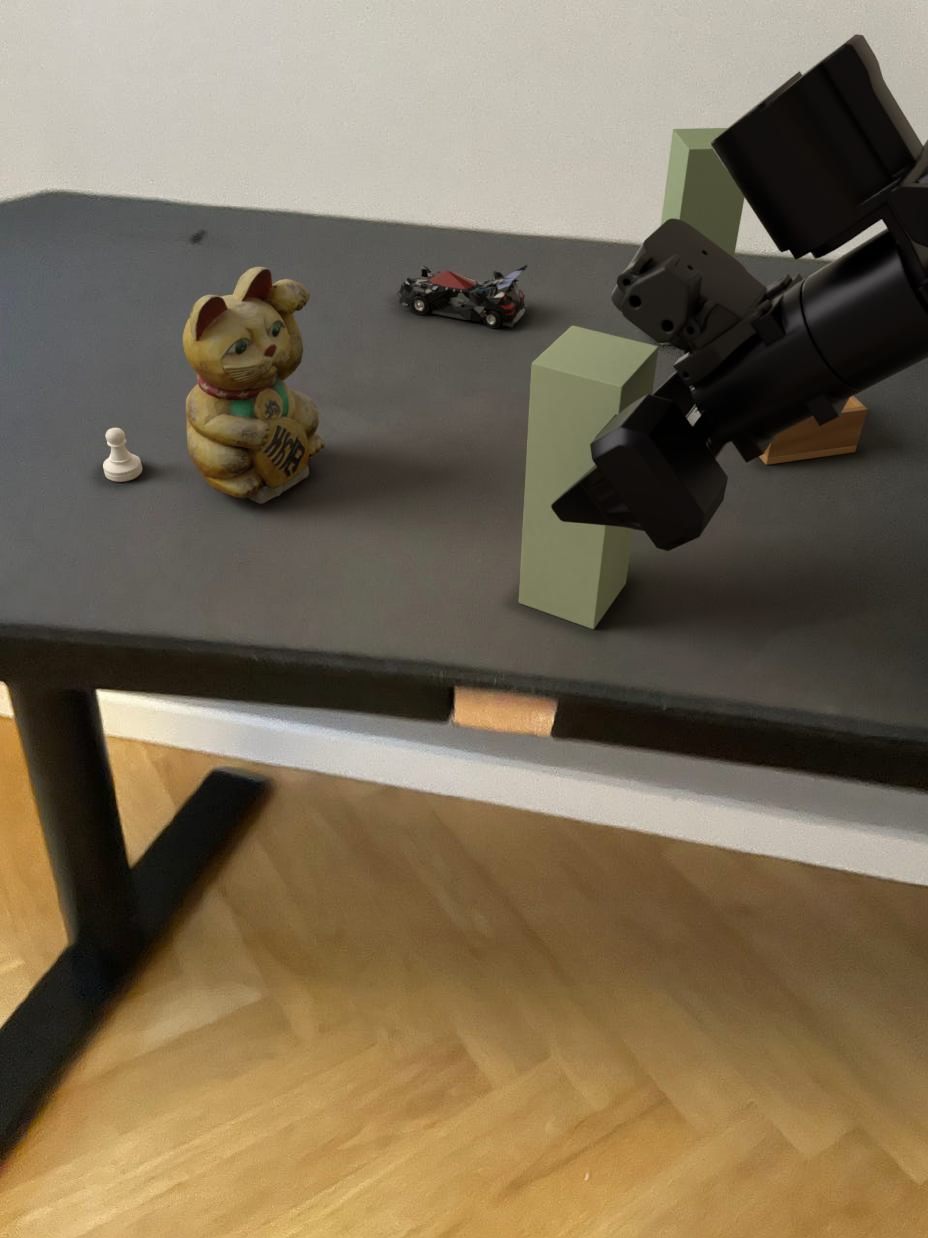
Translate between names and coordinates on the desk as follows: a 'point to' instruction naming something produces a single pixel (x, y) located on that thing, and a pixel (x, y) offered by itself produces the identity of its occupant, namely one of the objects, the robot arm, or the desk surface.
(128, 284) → the desk surface
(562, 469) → the sage green pillar
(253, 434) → the decorative figurine
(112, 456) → the chess pawn
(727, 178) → the pillar
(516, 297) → the toy car
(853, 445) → the small open wooden box
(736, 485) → the desk surface
